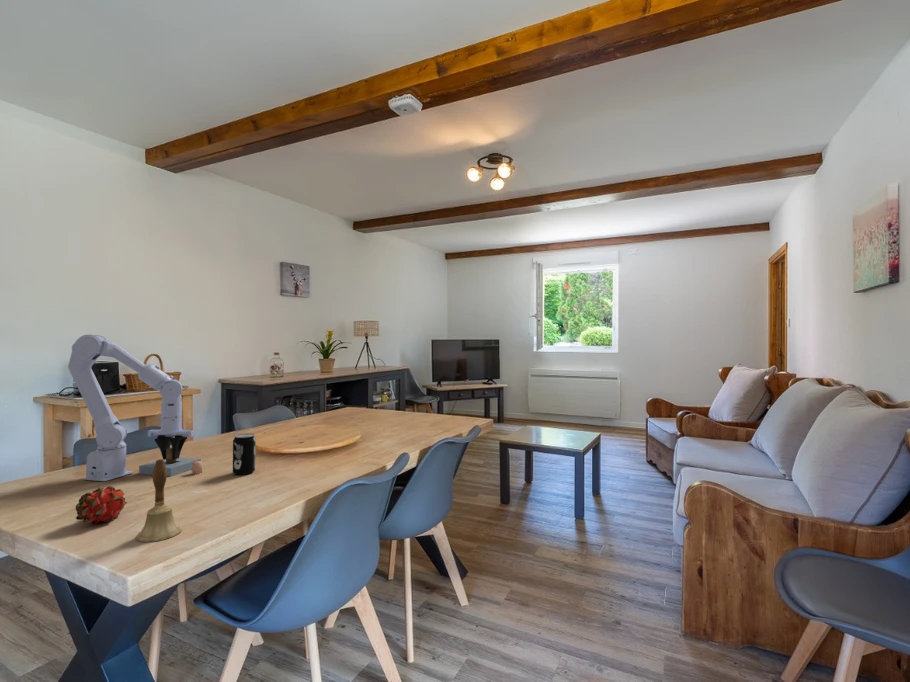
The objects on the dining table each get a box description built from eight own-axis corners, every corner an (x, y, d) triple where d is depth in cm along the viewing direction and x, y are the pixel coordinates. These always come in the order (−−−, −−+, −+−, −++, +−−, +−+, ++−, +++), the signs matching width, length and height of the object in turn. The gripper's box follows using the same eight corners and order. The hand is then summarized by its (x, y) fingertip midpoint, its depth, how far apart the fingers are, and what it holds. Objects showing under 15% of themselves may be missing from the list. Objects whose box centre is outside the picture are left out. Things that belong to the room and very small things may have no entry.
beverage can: (227, 474, 142) (228, 436, 142) (242, 469, 149) (242, 432, 149) (245, 476, 141) (246, 437, 141) (259, 470, 147) (260, 433, 147)
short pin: (197, 474, 142) (197, 463, 142) (189, 474, 143) (190, 463, 143) (204, 472, 145) (204, 461, 145) (196, 471, 145) (197, 460, 146)
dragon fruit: (72, 540, 98) (117, 526, 110) (106, 516, 98) (146, 505, 110) (55, 506, 99) (101, 496, 111) (88, 483, 100) (130, 476, 112)
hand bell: (125, 540, 94) (127, 464, 94) (158, 525, 102) (158, 454, 103) (161, 543, 93) (162, 465, 93) (190, 527, 101) (191, 456, 101)
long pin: (171, 468, 146) (171, 449, 146) (163, 467, 146) (163, 449, 146) (178, 466, 148) (178, 447, 148) (171, 465, 149) (171, 447, 149)
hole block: (170, 476, 140) (171, 468, 140) (139, 473, 143) (139, 465, 143) (200, 466, 152) (200, 458, 152) (170, 464, 154) (170, 456, 154)
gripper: (200, 415, 151) (200, 456, 151) (158, 414, 152) (158, 455, 152) (187, 418, 144) (186, 461, 144) (143, 418, 145) (142, 460, 145)
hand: (171, 458), depth 147 cm, fingers closed on long pin, 3 cm apart
